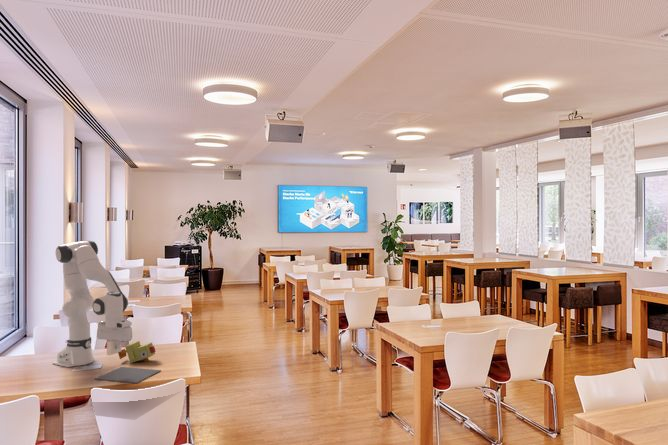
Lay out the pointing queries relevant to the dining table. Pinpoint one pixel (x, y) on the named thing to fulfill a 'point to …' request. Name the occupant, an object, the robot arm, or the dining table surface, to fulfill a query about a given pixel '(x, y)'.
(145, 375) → the mat
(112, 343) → the cream tile
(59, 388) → the dining table surface
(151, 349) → the toy
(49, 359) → the dining table surface
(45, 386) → the dining table surface
